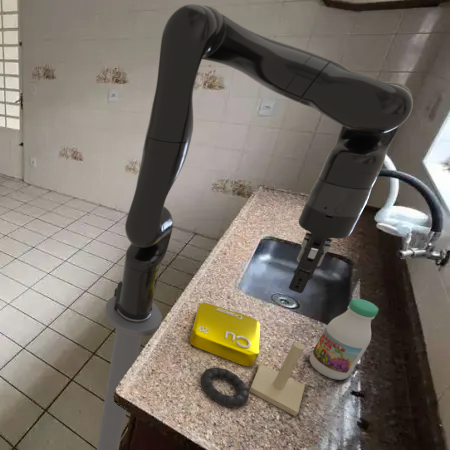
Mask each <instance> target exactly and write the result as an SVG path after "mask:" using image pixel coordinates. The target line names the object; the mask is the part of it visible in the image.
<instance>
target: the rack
mask: <svg viewBox="0 0 450 450" xmlns="http://www.w3.org/2000/svg"><path fill="white" fill-rule="evenodd" d="M305 349H306V347H305V345H304V344H303V343H301V342H299V341H294V342H293V343H292V345H291V347H290V349H289V351H288V353H287V355H286V356H285V359H284V361H283V362H282V365H281V367H280V369H279V371H277V370H275V369H273V368H271V367H269V366H267V365H265V364H263V363H259V366H258V367H257V370H256V373H255V375H254V377H253V380H252V383H251V385H250V388H249V389H248V392H249V393H252V394H253V395H255V396H257V397H259V398H261V399H262V400H264V401H266V402H268V403H269V404H271V405H273V406H275V407H277V408H279V409H280V410H282V411H284V412H287V413H288V414H290V415H292V416H293V417H297V416H298V414H299V412H300V407H301V404H302V399H303V396H304V391H305V387H306V385H305V384H303V383H301V382H300V381H297V380H296V379H293V378H292V377H291V375H292V373H293V372H294V370H295V368H296V366H297V364H298V362H299V360H300V358H301V356H302V354H303V353H304V351H305Z"/></svg>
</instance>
